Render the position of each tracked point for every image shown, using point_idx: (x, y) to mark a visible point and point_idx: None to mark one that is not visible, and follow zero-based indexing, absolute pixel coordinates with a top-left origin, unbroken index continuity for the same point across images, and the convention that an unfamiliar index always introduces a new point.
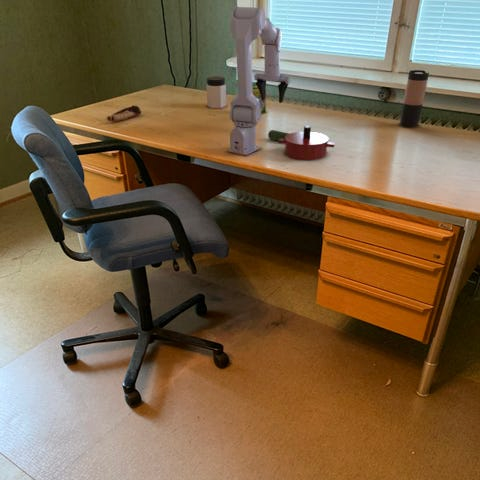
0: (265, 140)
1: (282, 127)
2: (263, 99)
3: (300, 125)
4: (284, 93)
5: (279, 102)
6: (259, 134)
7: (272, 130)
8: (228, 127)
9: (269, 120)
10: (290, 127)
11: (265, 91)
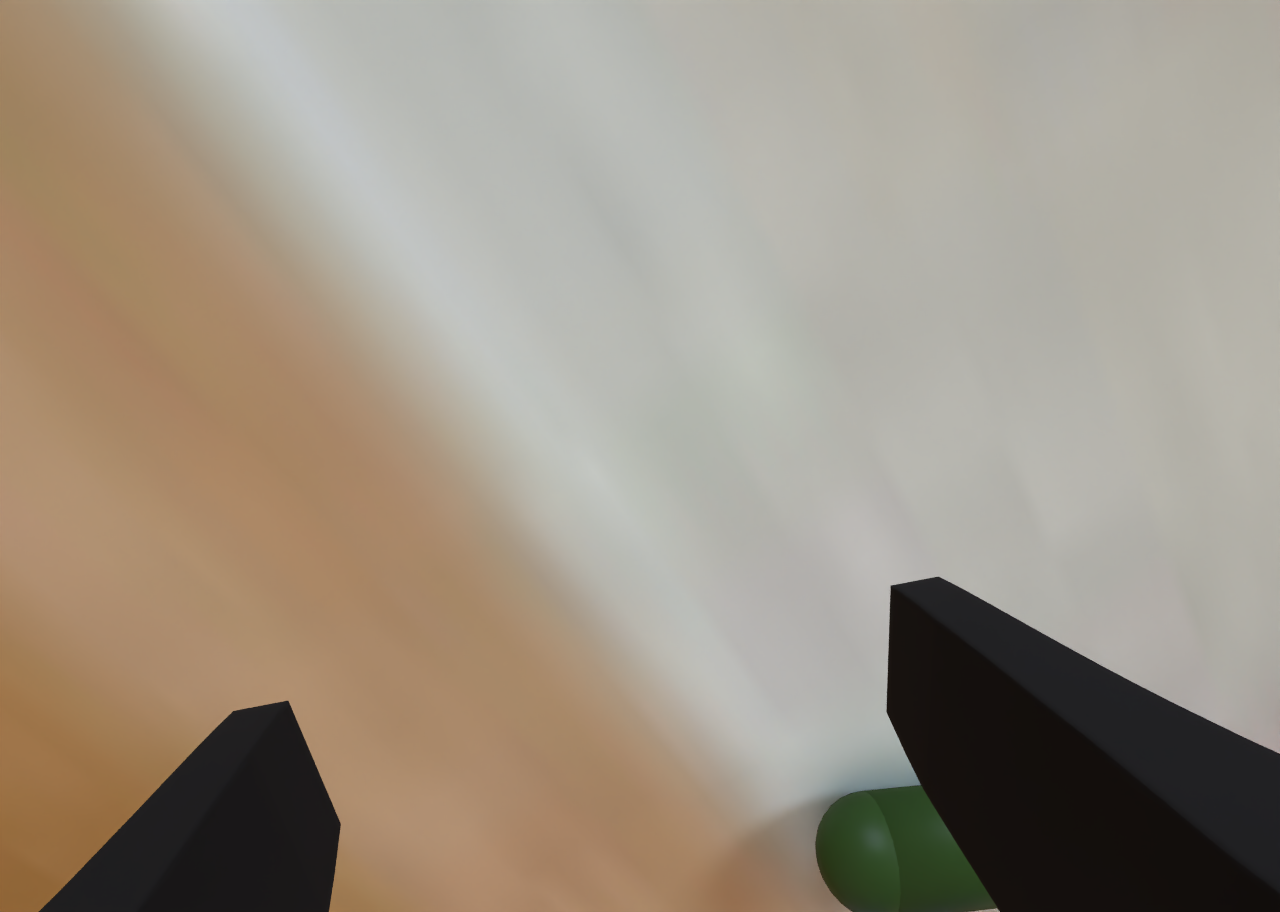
0: (800, 875)
1: (701, 309)
2: (327, 832)
3: (909, 7)
4: (1181, 724)
5: (898, 720)
6: (611, 763)
7: (900, 907)
8: (26, 791)
9: (234, 41)
10: (812, 230)
11: (149, 908)
